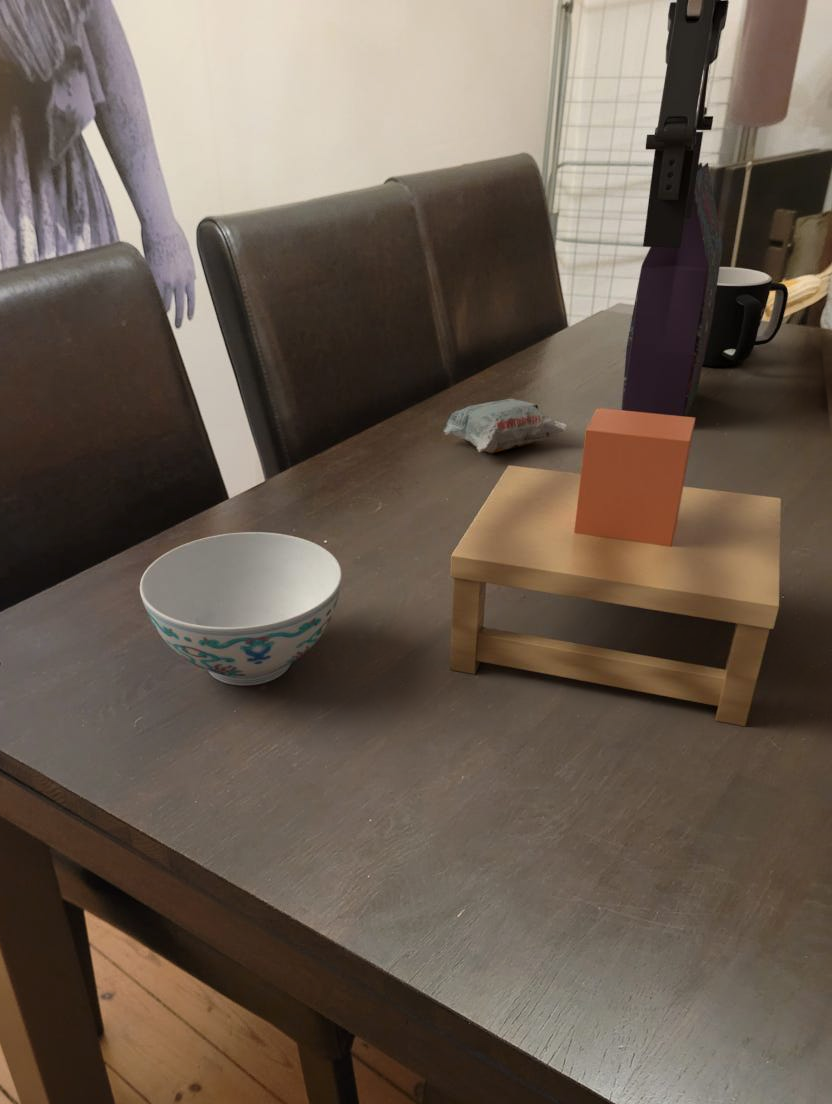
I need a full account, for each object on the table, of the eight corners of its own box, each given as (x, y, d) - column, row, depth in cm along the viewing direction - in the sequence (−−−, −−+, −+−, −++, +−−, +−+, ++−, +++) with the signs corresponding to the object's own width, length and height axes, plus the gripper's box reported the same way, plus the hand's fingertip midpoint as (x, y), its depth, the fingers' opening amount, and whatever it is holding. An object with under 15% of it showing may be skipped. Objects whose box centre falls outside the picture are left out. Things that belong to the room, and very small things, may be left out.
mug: (739, 383, 132) (756, 293, 126) (634, 362, 142) (646, 277, 135) (787, 357, 142) (806, 272, 136) (687, 339, 152) (700, 259, 145)
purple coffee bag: (615, 423, 120) (648, 176, 105) (638, 385, 132) (670, 160, 117) (683, 431, 117) (726, 178, 102) (700, 391, 129) (740, 162, 114)
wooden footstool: (755, 606, 81) (781, 497, 76) (748, 728, 67) (779, 605, 62) (501, 567, 88) (508, 465, 83) (446, 670, 74) (451, 555, 69)
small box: (677, 518, 73) (695, 417, 69) (671, 546, 69) (689, 441, 65) (585, 506, 75) (597, 407, 71) (573, 533, 71) (585, 429, 67)
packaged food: (563, 448, 113) (567, 407, 110) (479, 467, 108) (481, 424, 106) (520, 426, 120) (523, 387, 117) (439, 444, 115) (440, 403, 113)
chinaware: (265, 595, 84) (259, 515, 80) (383, 663, 75) (383, 576, 71) (117, 660, 76) (101, 575, 72) (228, 746, 67) (218, 653, 62)
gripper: (669, -81, 77) (635, 206, 88) (640, -117, 57) (601, 259, 68) (770, -88, 75) (721, 208, 86) (775, -128, 55) (711, 263, 66)
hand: (668, 231), depth 77 cm, fingers open, 13 cm apart
